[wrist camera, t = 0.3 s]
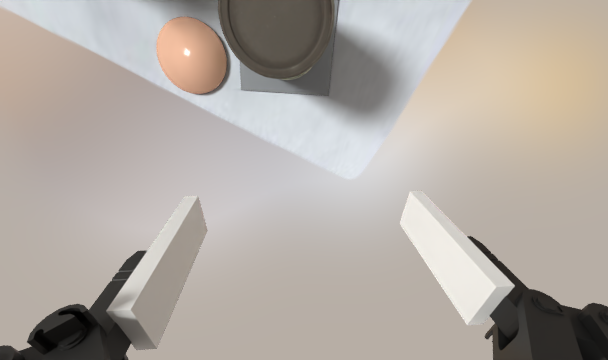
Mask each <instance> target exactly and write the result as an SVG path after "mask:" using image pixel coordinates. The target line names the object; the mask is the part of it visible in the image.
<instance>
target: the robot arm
mask: <svg viewBox="0 0 608 360" xmlns="http://www.w3.org/2000/svg"><path fill="white" fill-rule="evenodd" d="M400 225H401V227H402V228H403V230H404V231H405V233H406V234H407V235H408V237H409V238H410V240H411V241H412V243H413V244H414V246H415V247H416V249H417V250H418V252H419V253H420V255H421V256H422V258H423V259H424V261H425V262H426V264H427V265H428V267H429V268H430V270H431V271H432V273H433V274H434V276H435V277H436V279H437V280H438V282H439V283H440V285H441V286H442V288H443V289H444V291H445V292H446V294H447V295H448V297H449V298H450V300H451V301H452V303H453V304H454V306H455V307H456V309H457V310H458V312H459V313H460V315H461V316H462V318H463V319H464V321H465V322H466V324H467V325H474V324H484V322H485V321H486V320H487V319H488V318H489V316H490V317H491V318H492V320H493V321H494V322H495V324H494V325H493V326H492V327H491V329H490V330H489V331H488V332H487V333H486V335H485V338H486V339H489V337H490V336H491V335H493V341H492V342H493V360H608V307H607V306H604V305H602V304H596V303H591V304H588V305H587V306H586V307H584V308H583V309H582V310H580V309H576V308H572V307H567V306H563V305H560V304H559V303H558V302H557V301H555V300H554V299H553V298H552V297H550V296H548V295H546V294H544V293H542V292H540V291H536V290H532V289H528V288H527V287H526V286H525V285H524V284H523V283H522V282H521V281H520V280H519V279H518V278H517V277H516V276H515V275H514V274H513V273H512V272H511V271H510V270H509V269H508V268H507V267H506V266H505V265H504V264H503V263H502V262H500V261H498V259H497V258H496V257H495V256H494V255H493V254H491V252H490V251H489V250H488V249H487V248H486V247H485V246H484V245H483V244H482V243H480V242H479V241H477V240H476V239H474V238H473V237H471V236H470V237H469V236H466V235H465V234H464V233H463V232H462V231H461V230H460V229H459V228H458V227H457V226H456V225H455V224H454V223H453V222H452V221H451V220H450V219H449V218H448V217H447V216H446V215H445V214H444V213H443V212H442V211H441V210H440V209H439V208H438V207H437V206H436V205H435V204H434V203H433V202H432V201H431V200H430V199H429V198H428V197H427V196H426V195H425V194H424V193H423V192H422V191H410V193H409V196H408V199H407V202H406V205H405V208H404V211H403V214H402V218H401V221H400ZM206 233H207V227H206V223H205V220H204V216H203V212H202V208H201V205H200V201H199V197H198V196H185V197H184V198H183V200H182V201H181V203H180V204H179V205H178V207H177V208H176V210H175V211H174V213H173V214H172V216H171V217H170V219H169V220H168V222H167V223H166V225H165V226H164V227H163V229H162V230H161V232H160V233H159V235H158V236H157V238H156V239H155V240H154V242H153V243H152V245H151V246H150V248H149V249H148V251H137V252H136V253H135V254H134V255H132V256H131V257H130V258H129V259H127V260H126V262H125V263H124V264H123V266H122V267H121V268H120V269H119V272H118V273H117V274H116V275H115V276H114V277H113V279H112V281H111V282H110V283H109V284H108V285H107V287H106V288H105V289H104V291H103V292H102V293H101V295H100V296H99V297H98V299H97V300H96V301H95V303H94V304H93V305H92V307H91V308H90V309H89V310H88V309H87V308H86V307H85V306H84V305H80V304H74V305H68V306H66V307H64V308H61V309H58V310H57V311H55V312H53V313H52V314H50V315H49V316H47V317H46V318H45V319H44V320H42V321H41V322H40V323H39V324H38V325H37V326H36V327H35V328H34V330H33V331H32V332H31V333H30V335H29V338H28V341H27V342H28V343H29V344H30V345H31V346H32V347H29V348H27V349H24V350H21V351H17V350H16V349H14V348H13V347H11V346H0V360H128V357H127V356H126V352H127V350H128V348H129V346H130V344H132V345H133V346H134V348H135V349H136V350H145V349H157V347H158V345H159V343H160V340H161V338H162V335H163V333H164V331H165V329H166V326H167V324H168V322H169V319H170V317H171V314H172V312H173V310H174V308H175V305H176V303H177V301H178V298H179V296H180V293H181V291H182V289H183V287H184V284H185V282H186V279H187V277H188V275H189V273H190V270H191V268H192V266H193V263H194V261H195V258H196V256H197V254H198V252H199V249H200V247H201V244H202V242H203V240H204V238H205V235H206Z"/></svg>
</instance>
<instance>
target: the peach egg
mask: <svg viewBox="0 0 608 360" xmlns="http://www.w3.org/2000/svg"><path fill="white" fill-rule="evenodd" d="M157 56H158V60H159V63H160V66H161V68H162V70H163V71H164V73H165V75H166V76H167V77H168V79H169V80H170V81H171V82H172V83H173V84H175V85H176V86H177V87H179V88H180V89H182V90H184V91H187V92H190V93H195V94H202V93H207V92H210V91H212V90H214V89H215V88H217V87H218V86H219V85H220V84H221V82H222V81H223V79H224V76H225V74H226V69H227V58H226V53H225V49H224V47H223V44H222V42H221V40H220V39H219V37H218V36H217V34H216V33H215V32H214V31H213V30H212V29H211V28H210V27H209V26H207V25H206V24H204V23H203V22H201V21H199V20H197V19H194V18H190V17H178V18H175V19H172V20H170V21H169V22H167V23H166V24H165V25H164V26H163V28H162V29H161V31H160V33H159V35H158V39H157Z"/></svg>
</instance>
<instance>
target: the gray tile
mask: <svg viewBox="0 0 608 360" xmlns="http://www.w3.org/2000/svg"><path fill="white" fill-rule="evenodd" d="M334 4H335V19H334V26H333V32H332V35H331V38H330V41H329V43H328V46H327V48H326V50H325V52H324V53H323V55H322V56H321V58H320V59H319V60H318V61H317V62H316V63H315V64H314V65H313V66H312V68H311V69H310V70H309V71H308V72H307V73H306V74H304V75H303V76H301V77H299V78H296V79H292V80H282V79H273V78H268V77H264V76H262V75H259V74H257V73H255V72H253V71H252V70H250V69H249V68H248V67H246V66H245V65H244V64H243V63H242V62H241V61H240V76H241V90H251V91H266V92H280V93H295V94H309V95H324V96H328V95H329V86H330V76H331V66H332V56H333V47H334V37H335V27H336V18H337V8H338V0H334Z"/></svg>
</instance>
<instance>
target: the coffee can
mask: <svg viewBox="0 0 608 360" xmlns="http://www.w3.org/2000/svg"><path fill="white" fill-rule="evenodd" d="M218 12H219V19H220V24H221V27H222V31H223V34H224V36H225V38H226V41H227V43H228V45H229V46H230V48H231V50H232V51H233V53H234V54H235V56H236V57H237V58H238V59H239V60H240V61H241V62H242V63H243V64H244V65H245V66H246V67H248V68H249V69H250V70H252V71H253V72H255V73H257V74H259V75H262V76H264V77H268V78H273V79H282V80H292V79H296V78H299V77H301V76H303V75H304V74H306V73H307V72H308V71H309V70H310V69H311V68H312V66H313V65H314V64H315V63H316V62H317V61H318V60H319V59H320V58H321V56H322V55H323V53H324V52H325V50H326V48H327V46H328V43H329V41H330V38H331V35H332V32H333V26H334V19H335V4H334V0H218Z"/></svg>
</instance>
